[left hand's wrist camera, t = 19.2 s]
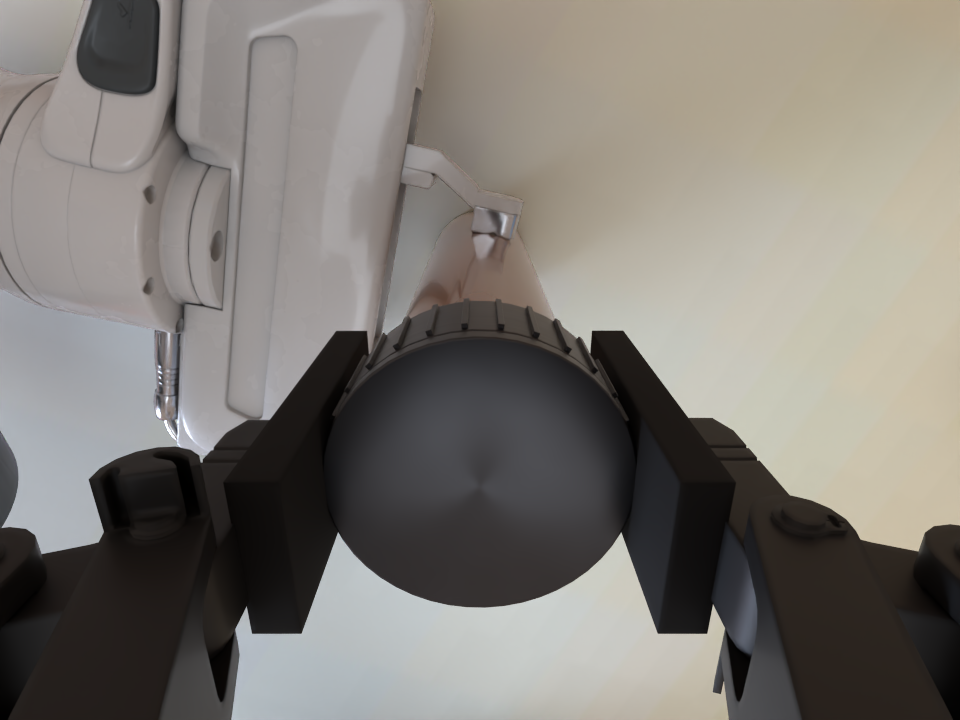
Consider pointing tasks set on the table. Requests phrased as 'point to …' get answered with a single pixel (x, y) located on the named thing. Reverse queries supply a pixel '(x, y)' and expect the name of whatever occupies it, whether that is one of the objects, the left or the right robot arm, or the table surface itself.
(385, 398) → the lid
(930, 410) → the table surface
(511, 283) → the brown cylinder
